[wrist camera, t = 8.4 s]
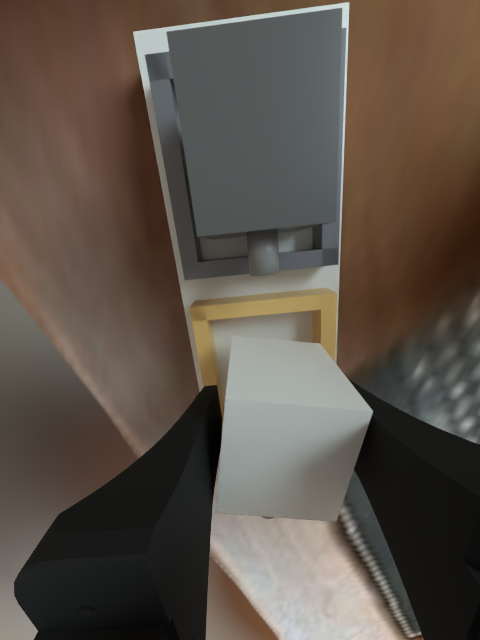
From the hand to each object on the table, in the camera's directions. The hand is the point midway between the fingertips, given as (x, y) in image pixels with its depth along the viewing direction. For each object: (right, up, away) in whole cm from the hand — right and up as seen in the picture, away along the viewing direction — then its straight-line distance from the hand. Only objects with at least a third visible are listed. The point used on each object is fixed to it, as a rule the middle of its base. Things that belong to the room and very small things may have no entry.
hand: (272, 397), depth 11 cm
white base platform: (0, +6, +4) cm, 8 cm away
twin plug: (-1, +11, 0) cm, 11 cm away
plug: (0, 0, +1) cm, 2 cm away
